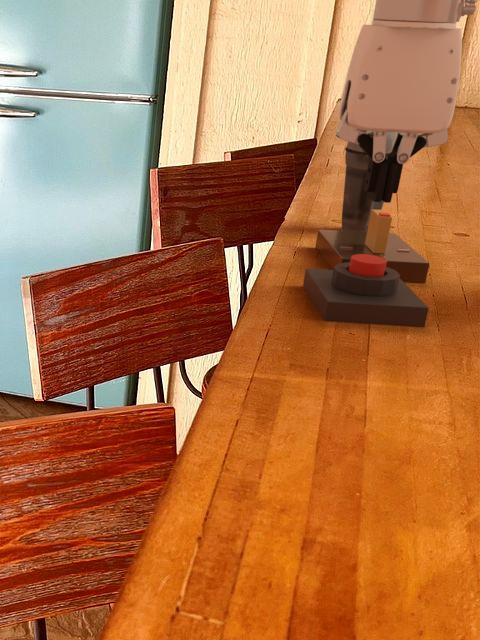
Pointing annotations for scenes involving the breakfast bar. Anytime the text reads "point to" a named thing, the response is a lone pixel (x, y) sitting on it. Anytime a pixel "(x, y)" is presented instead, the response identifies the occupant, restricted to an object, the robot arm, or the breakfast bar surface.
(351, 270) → the bell button
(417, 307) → the dark grey button base
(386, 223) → the lock turn
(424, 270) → the plate
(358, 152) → the beverage cup
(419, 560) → the breakfast bar surface
